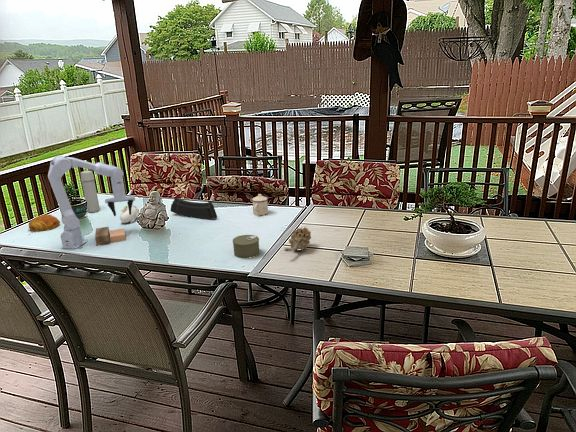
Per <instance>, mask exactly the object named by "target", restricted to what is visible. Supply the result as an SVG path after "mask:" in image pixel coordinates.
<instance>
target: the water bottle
mask: <svg viewBox="0 0 576 432" xmlns="http://www.w3.org/2000/svg"><path fill="white" fill-rule="evenodd" d="M80 182H81V185H82V190H83V196H84V200H86V201H85V203H86V202H87V206H86V211H87V213H89V214H90V213H91V214H93V213H97V212H99V211H100V209H101V208H100V203H99V197H98V192H97V187H96V183H95V182H96V180H95V175H94V173H93V170H85V171H84V170H83V171H81V172H80Z"/></svg>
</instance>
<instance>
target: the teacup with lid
mask: <svg viewBox="0 0 576 432" xmlns="http://www.w3.org/2000/svg"><path fill="white" fill-rule="evenodd" d="M268 200H269V198H268V197H267V196H264V195H262V194H261V193H258V194H257V196H255V197H253V198H252V199H251V201H252V211H253V215H254V214H255V215H254V216H258V215H262V216H266V215H268V214H269V206H268ZM267 213H268V214H267ZM265 214H266V215H265Z"/></svg>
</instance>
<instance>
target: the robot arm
mask: <svg viewBox="0 0 576 432" xmlns="http://www.w3.org/2000/svg"><path fill="white" fill-rule="evenodd" d="M49 164H50V165H49V169H48V174H47V178H48V182H49V183H50V187H51V189H52V191H53V194H54V197H55V199H56V201H57V204H58V206H59V210H60V215H61V222H62V224H64V226H63V231H62V232H61V234H60V240H61V245H62V246H61V249H70V250H71V249H73V250H77V249H78V248H80V247H81V246H83V245H84V244H86V243H87V242H88V240H84V239H83V235H82V229H81V226H80V225H81V221H80V219H79V218H78V217H77V216H76V213H75V212H74V210H73V208H72V206H71V202H70V200H69V197H68V195H67V192H66V189H65V186H64V185H63V181H62V177H63V176H64V174H65V173H67V172H68V171H70V169H71V168H72V169H74V168H75V169H76V168H83V169H87V170H90V171H94V173H95V175H96V174H97V175H101V176H104V177H110V182H111V183H110V184H111V189H112V195H113V197H111V198H106V199H104V202H105V204H107V206H108V208H109V209H110V210H111V212H112V214H113V217H116V215H117V212H116V208H115V203H122V202H123V203H124V202H127V207H128V208H129V215H131V208H132V205H133V203H134V202H135V201H136V196H134V195H133V196H126V191H125V190H126V189H125V184H124V179H123V177H124V173H125V172H123V169H122V168H120V167H117V166H115V165H113V164H111V165H109V164H106V163H105V162H103V161H100V162H99V161H98V162H96V163H94V162H93V163H92V162H89V161H86V160H84V159H83V160H82V159H79V158H76V157H69V156H63V155H56V156H54V157H53V159H51V161H50V163H49Z"/></svg>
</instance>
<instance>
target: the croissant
mask: <svg viewBox="0 0 576 432" xmlns="http://www.w3.org/2000/svg"><path fill="white" fill-rule="evenodd" d="M60 224H61V221H60V220H59V219H58V218H57V217H56V216H54V215H52V214H40V215H38V216H36V217H33V219H31V220H30V221H29V222H28V228H29V229H30V231H31V232H43V231H44V232H45V231H49V230H53V229H56V228H57V227H58V226H59V225H60Z"/></svg>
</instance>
